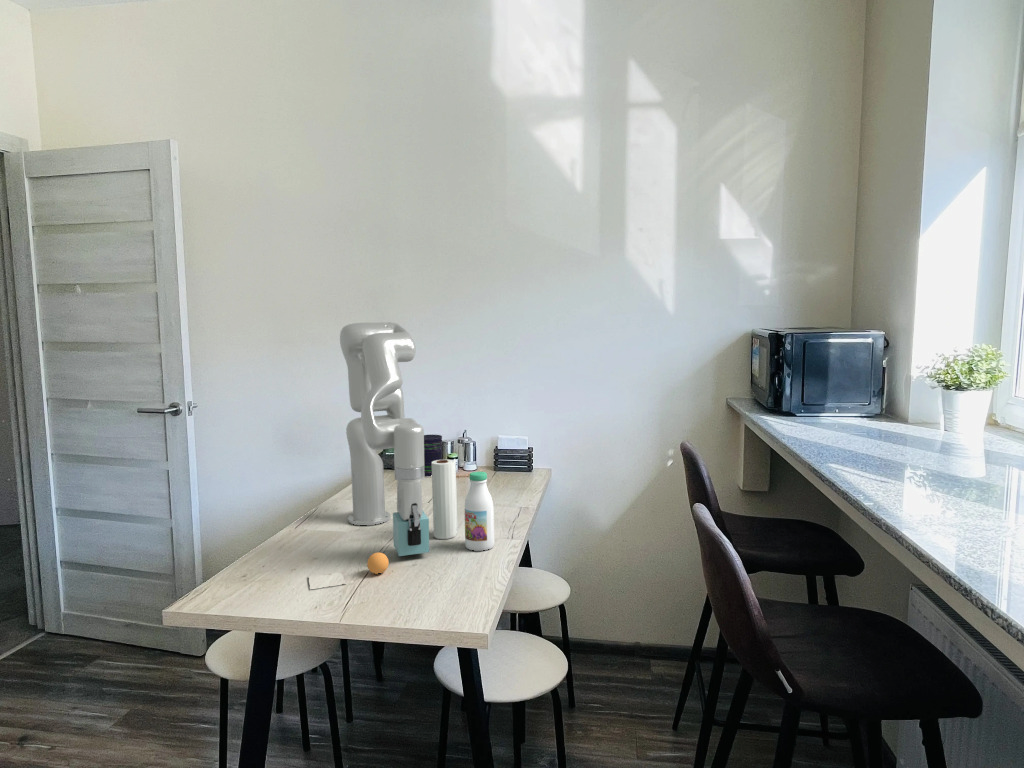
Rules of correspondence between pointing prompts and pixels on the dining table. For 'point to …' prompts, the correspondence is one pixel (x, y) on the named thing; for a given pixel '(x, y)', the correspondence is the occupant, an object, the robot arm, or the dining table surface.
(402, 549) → the light teal cube-like block
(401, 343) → the robot arm
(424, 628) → the dining table surface
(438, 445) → the storage jar
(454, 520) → the paper towel roll
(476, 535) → the milk bottle
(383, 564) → the ball
